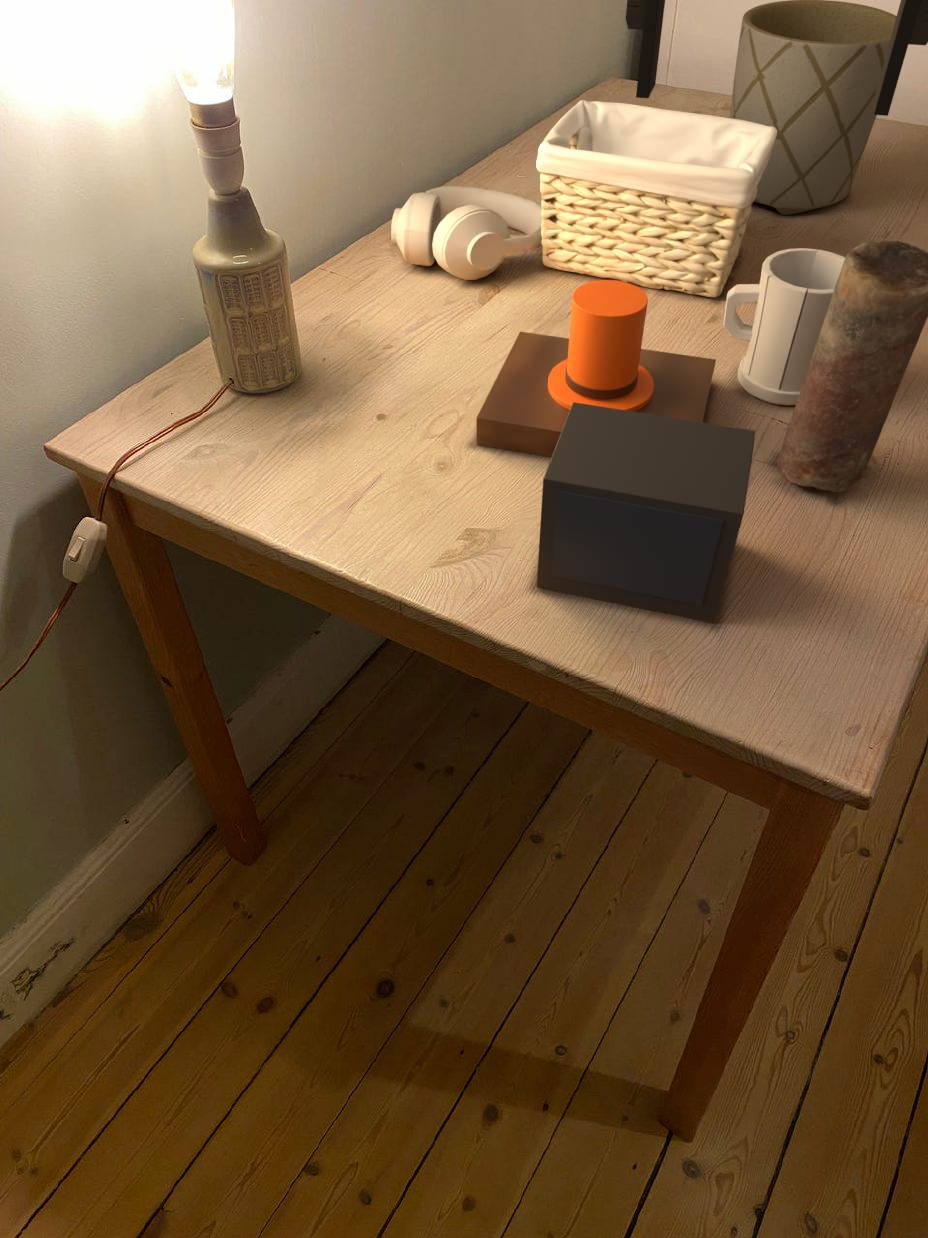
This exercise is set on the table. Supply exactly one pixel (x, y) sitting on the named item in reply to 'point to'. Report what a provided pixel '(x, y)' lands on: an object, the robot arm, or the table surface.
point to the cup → (783, 321)
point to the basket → (649, 194)
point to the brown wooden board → (536, 420)
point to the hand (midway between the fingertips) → (759, 99)
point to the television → (643, 510)
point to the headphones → (465, 229)
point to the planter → (810, 94)
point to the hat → (604, 349)
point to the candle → (857, 365)
